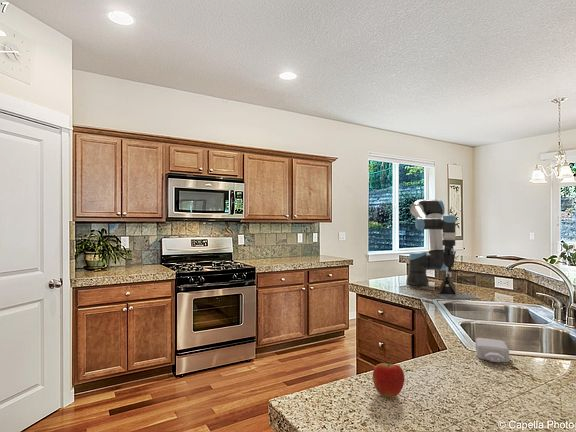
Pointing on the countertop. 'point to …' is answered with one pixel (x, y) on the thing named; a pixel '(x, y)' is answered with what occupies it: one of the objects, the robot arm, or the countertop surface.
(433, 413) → the countertop surface
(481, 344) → the charger
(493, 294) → the countertop surface
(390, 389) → the apple
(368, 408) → the countertop surface
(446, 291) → the phone stand
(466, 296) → the mat
